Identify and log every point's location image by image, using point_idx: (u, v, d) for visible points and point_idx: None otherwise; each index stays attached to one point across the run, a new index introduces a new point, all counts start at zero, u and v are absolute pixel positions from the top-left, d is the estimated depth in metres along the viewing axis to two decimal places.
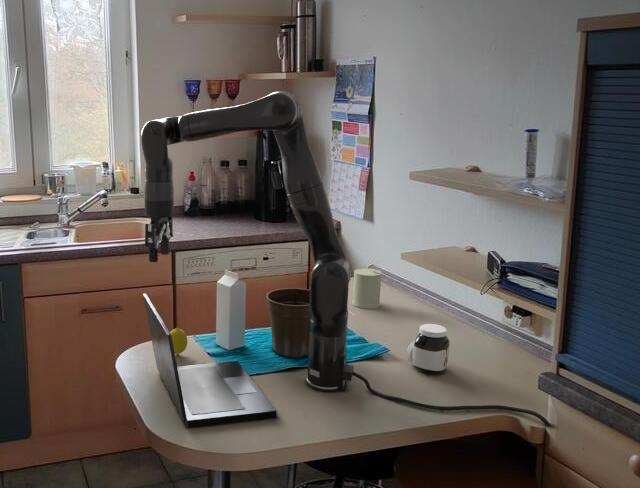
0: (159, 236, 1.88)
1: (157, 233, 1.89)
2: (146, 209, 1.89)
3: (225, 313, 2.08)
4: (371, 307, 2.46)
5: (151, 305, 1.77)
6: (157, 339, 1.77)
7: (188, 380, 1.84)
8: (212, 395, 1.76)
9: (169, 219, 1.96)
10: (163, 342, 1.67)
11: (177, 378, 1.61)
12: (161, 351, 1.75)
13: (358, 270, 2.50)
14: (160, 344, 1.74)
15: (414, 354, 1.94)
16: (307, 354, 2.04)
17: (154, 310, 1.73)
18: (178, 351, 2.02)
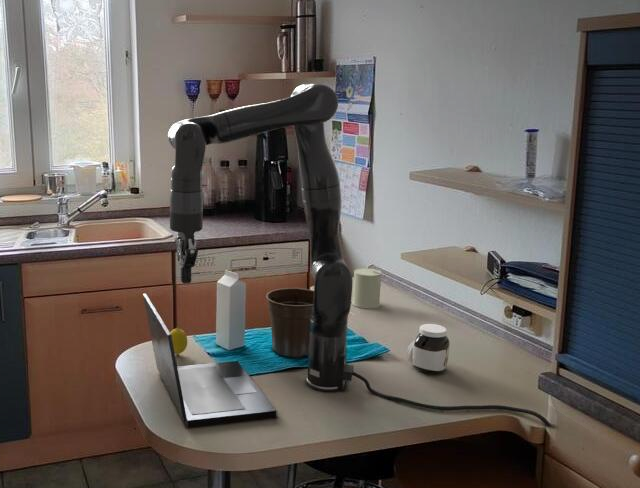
0: None
1: None
2: (179, 225, 1.66)
3: (225, 313, 2.08)
4: (371, 307, 2.46)
5: (151, 305, 1.77)
6: (157, 339, 1.77)
7: (188, 380, 1.84)
8: (212, 395, 1.76)
9: None
10: (163, 342, 1.67)
11: (177, 378, 1.61)
12: (161, 351, 1.75)
13: (358, 270, 2.50)
14: (160, 344, 1.74)
15: (414, 354, 1.94)
16: (307, 354, 2.04)
17: (154, 310, 1.73)
18: (178, 351, 2.02)
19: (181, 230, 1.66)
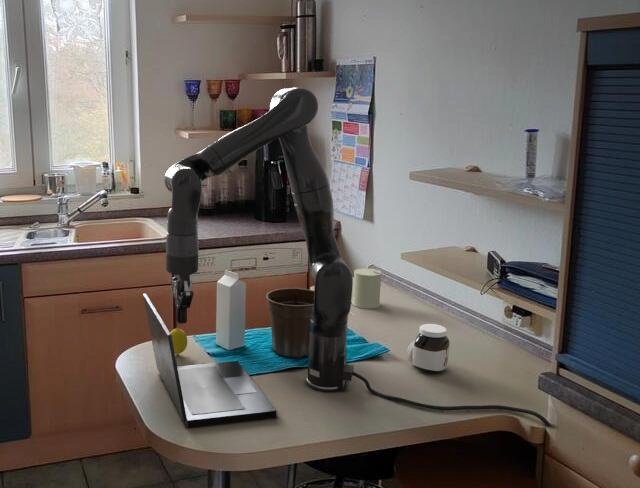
0: None
1: None
2: (174, 267, 1.68)
3: (225, 313, 2.08)
4: (371, 307, 2.46)
5: (151, 305, 1.77)
6: (157, 339, 1.77)
7: (188, 380, 1.84)
8: (212, 395, 1.76)
9: None
10: (163, 342, 1.67)
11: (177, 378, 1.61)
12: (161, 351, 1.75)
13: (358, 270, 2.50)
14: (160, 344, 1.74)
15: (414, 354, 1.94)
16: (307, 354, 2.04)
17: (154, 310, 1.73)
18: (178, 351, 2.02)
19: (177, 272, 1.68)
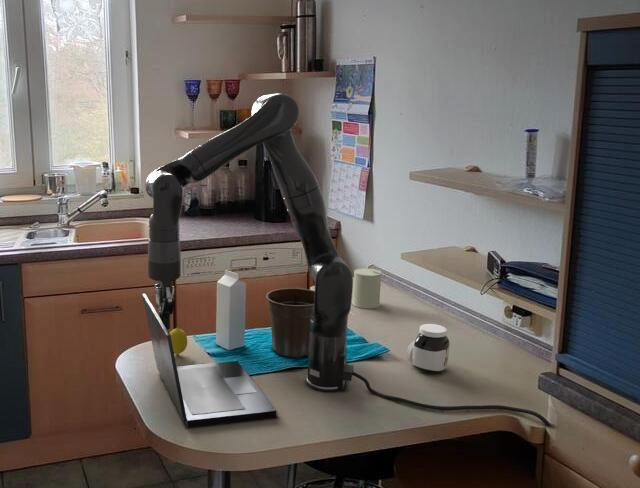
0: None
1: None
2: (156, 273, 1.67)
3: (225, 313, 2.08)
4: (371, 307, 2.46)
5: (150, 305, 1.77)
6: (157, 339, 1.77)
7: (188, 380, 1.84)
8: (212, 395, 1.76)
9: None
10: (162, 342, 1.67)
11: (177, 378, 1.61)
12: (161, 351, 1.75)
13: (358, 270, 2.50)
14: (160, 344, 1.73)
15: (414, 354, 1.94)
16: (307, 354, 2.04)
17: (153, 310, 1.73)
18: (178, 351, 2.02)
19: (159, 279, 1.67)
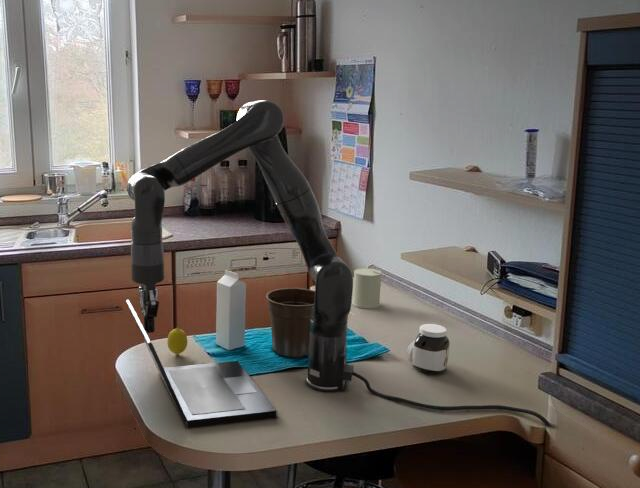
0: None
1: None
2: (139, 276, 1.66)
3: (225, 313, 2.08)
4: (371, 307, 2.46)
5: (133, 312, 1.76)
6: None
7: (188, 380, 1.84)
8: (212, 395, 1.76)
9: None
10: None
11: (167, 382, 1.60)
12: (152, 355, 1.74)
13: (358, 270, 2.50)
14: None
15: (414, 354, 1.94)
16: (307, 354, 2.04)
17: (136, 317, 1.73)
18: (178, 351, 2.02)
19: (142, 282, 1.66)
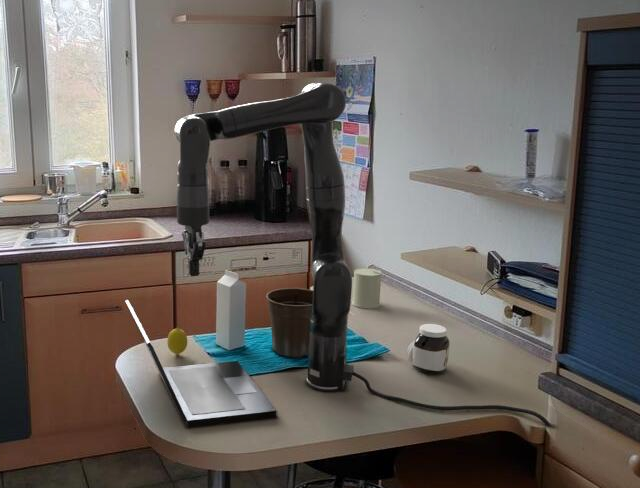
0: None
1: None
2: (186, 218, 1.68)
3: (225, 313, 2.08)
4: (371, 307, 2.46)
5: (132, 312, 1.76)
6: None
7: (188, 380, 1.84)
8: (212, 395, 1.76)
9: None
10: None
11: (167, 382, 1.60)
12: (151, 355, 1.74)
13: (358, 270, 2.50)
14: None
15: (414, 354, 1.94)
16: (307, 354, 2.04)
17: (135, 317, 1.73)
18: (178, 351, 2.02)
19: (188, 224, 1.68)
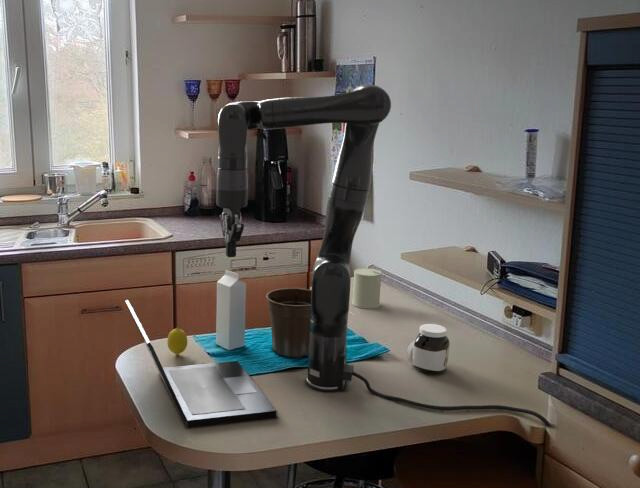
0: None
1: None
2: (226, 201, 1.75)
3: (225, 313, 2.08)
4: (371, 307, 2.46)
5: (132, 312, 1.76)
6: None
7: (188, 380, 1.84)
8: (212, 395, 1.76)
9: None
10: None
11: (167, 382, 1.60)
12: (151, 355, 1.74)
13: (358, 270, 2.50)
14: None
15: (414, 354, 1.94)
16: (307, 354, 2.04)
17: (135, 317, 1.73)
18: (178, 351, 2.02)
19: (228, 206, 1.75)
